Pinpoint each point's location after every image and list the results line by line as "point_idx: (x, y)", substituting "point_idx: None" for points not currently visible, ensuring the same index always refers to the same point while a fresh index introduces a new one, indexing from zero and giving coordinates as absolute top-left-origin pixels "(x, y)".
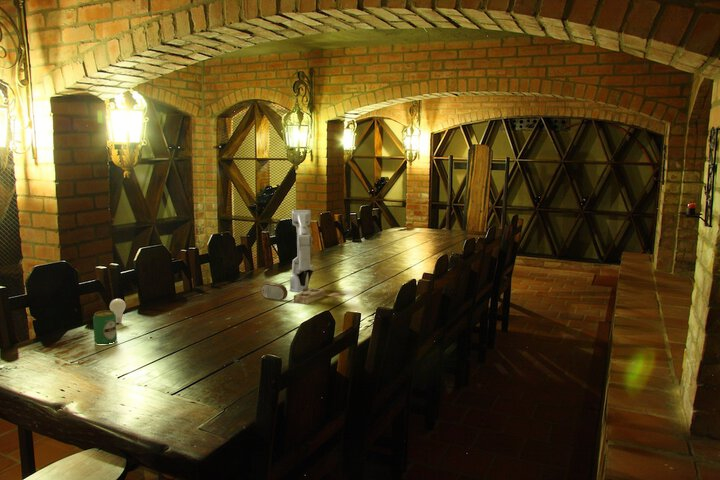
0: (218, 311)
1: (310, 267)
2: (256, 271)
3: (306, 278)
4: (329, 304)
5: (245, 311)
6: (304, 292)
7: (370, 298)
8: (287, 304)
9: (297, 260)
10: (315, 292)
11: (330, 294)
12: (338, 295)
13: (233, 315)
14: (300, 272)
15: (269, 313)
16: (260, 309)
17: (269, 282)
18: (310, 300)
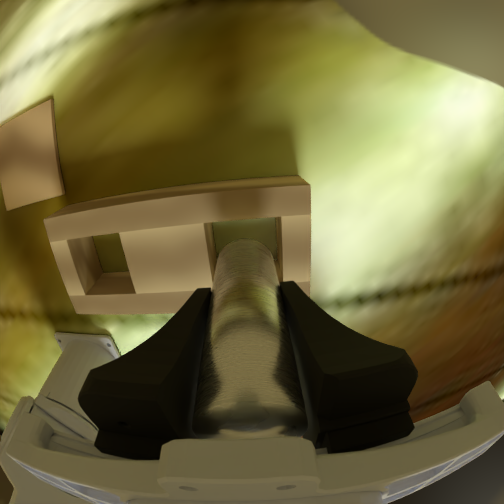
0: (468, 372)
1: (182, 498)
2: None
3: (274, 329)
4: (205, 49)
5: (470, 330)
6: (189, 294)
7: (7, 13)
8: (352, 279)
9: (70, 501)
10: (133, 227)
11: (36, 196)
12: (25, 144)
13: (499, 323)
14: (418, 424)
15: (484, 251)
16: (449, 314)
17: None
18: (255, 181)
